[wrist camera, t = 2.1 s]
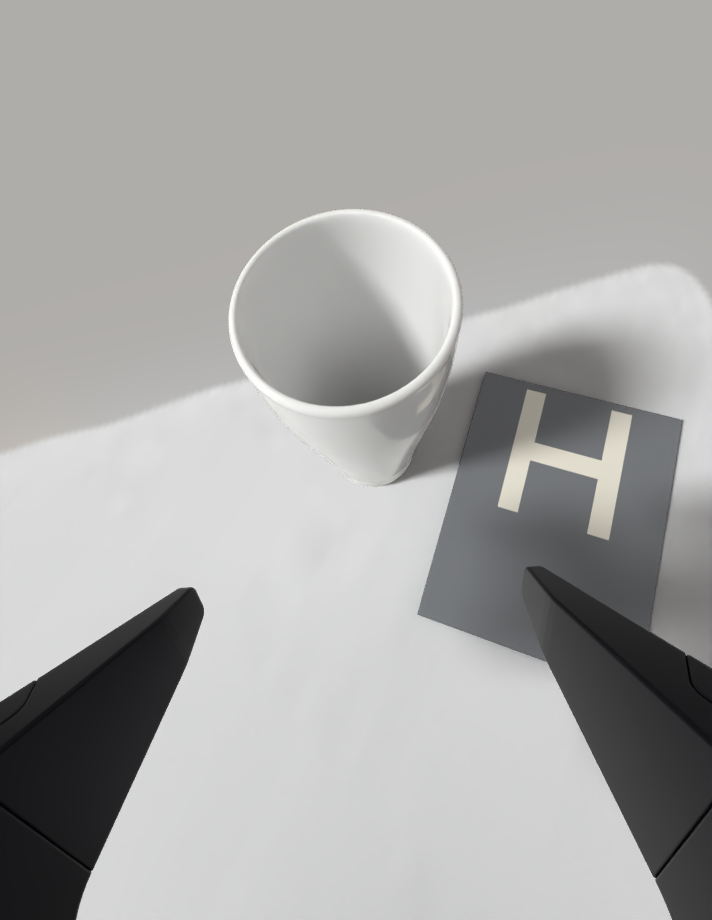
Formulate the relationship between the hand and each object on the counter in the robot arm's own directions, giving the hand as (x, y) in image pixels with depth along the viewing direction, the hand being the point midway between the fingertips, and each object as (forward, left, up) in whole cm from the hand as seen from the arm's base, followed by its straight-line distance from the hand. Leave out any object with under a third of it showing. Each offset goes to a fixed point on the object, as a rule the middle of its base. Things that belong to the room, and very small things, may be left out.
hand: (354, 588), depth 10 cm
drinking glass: (+6, -4, -13) cm, 15 cm away
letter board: (-4, -10, -13) cm, 17 cm away
